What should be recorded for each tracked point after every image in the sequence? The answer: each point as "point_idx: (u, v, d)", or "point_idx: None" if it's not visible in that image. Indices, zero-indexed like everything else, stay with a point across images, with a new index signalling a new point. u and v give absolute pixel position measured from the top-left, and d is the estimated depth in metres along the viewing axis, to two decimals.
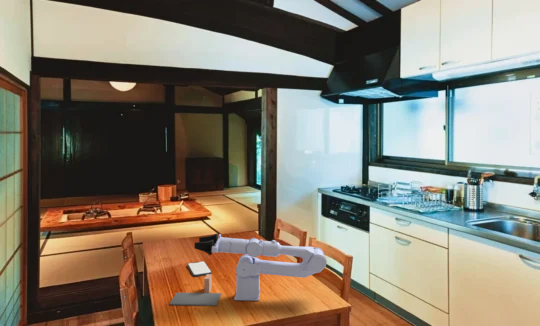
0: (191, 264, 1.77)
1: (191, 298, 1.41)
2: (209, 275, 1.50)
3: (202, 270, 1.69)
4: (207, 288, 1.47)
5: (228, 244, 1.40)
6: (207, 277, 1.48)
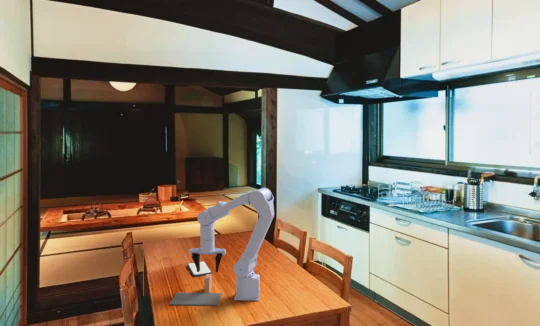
0: (191, 264, 1.76)
1: (191, 298, 1.41)
2: (209, 275, 1.50)
3: (202, 270, 1.69)
4: (207, 288, 1.47)
5: None
6: (207, 277, 1.48)
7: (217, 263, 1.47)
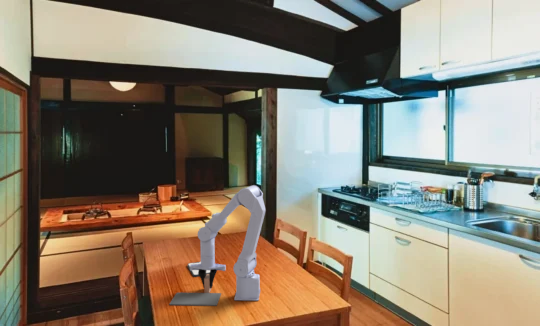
0: None
1: (191, 298, 1.41)
2: (209, 275, 1.50)
3: None
4: (207, 288, 1.47)
5: None
6: (207, 277, 1.48)
7: (211, 279, 1.47)
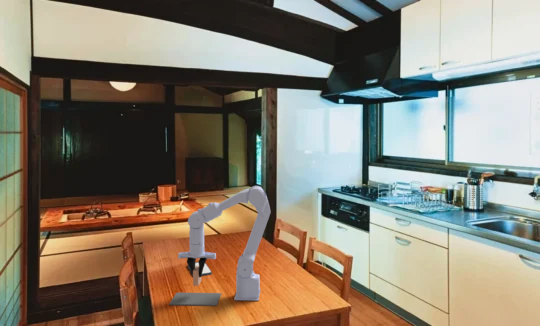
0: None
1: (191, 298, 1.41)
2: (198, 267, 1.43)
3: None
4: (196, 280, 1.40)
5: None
6: (196, 269, 1.41)
7: (200, 268, 1.40)
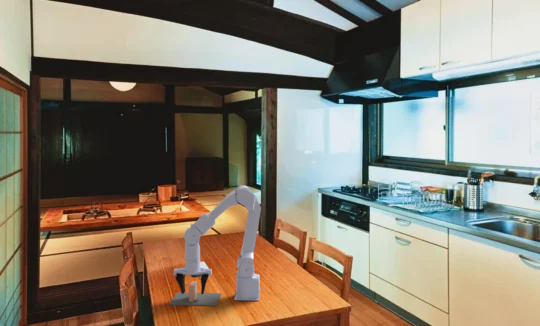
0: None
1: None
2: (194, 282, 1.41)
3: None
4: (192, 296, 1.38)
5: None
6: (192, 285, 1.39)
7: (203, 284, 1.38)
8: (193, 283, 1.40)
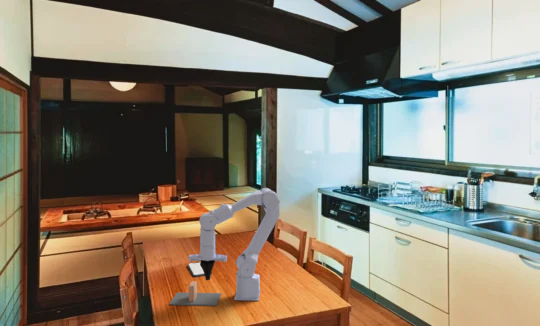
0: (191, 264, 1.76)
1: None
2: (194, 282, 1.41)
3: (202, 270, 1.69)
4: (192, 296, 1.38)
5: None
6: (192, 285, 1.39)
7: (209, 270, 1.38)
8: (193, 283, 1.40)
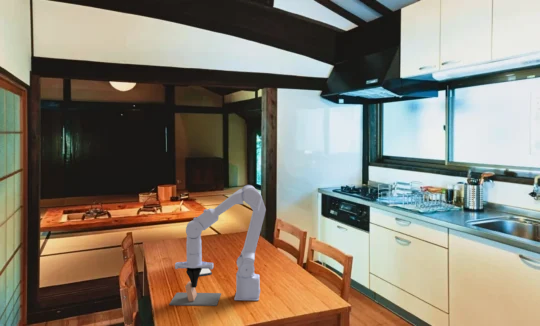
0: None
1: None
2: None
3: (202, 270, 1.69)
4: (190, 296, 1.38)
5: None
6: (188, 284, 1.39)
7: (195, 278, 1.38)
8: (190, 283, 1.40)
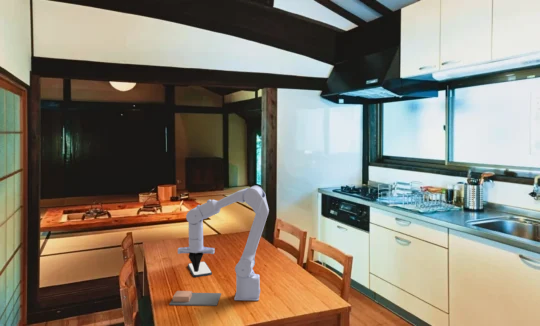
0: None
1: (191, 298, 1.41)
2: None
3: (202, 270, 1.69)
4: (183, 298, 1.38)
5: None
6: None
7: (197, 262, 1.44)
8: None
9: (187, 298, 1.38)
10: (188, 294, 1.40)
